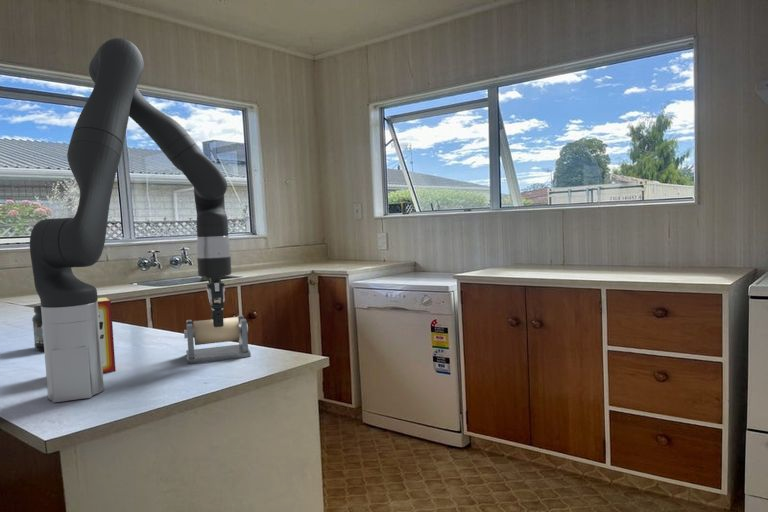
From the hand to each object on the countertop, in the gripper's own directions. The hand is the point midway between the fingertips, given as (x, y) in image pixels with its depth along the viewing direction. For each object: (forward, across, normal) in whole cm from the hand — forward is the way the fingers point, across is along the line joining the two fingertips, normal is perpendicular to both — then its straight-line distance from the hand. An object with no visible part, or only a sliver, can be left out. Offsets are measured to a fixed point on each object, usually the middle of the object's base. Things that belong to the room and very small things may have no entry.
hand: (217, 324), depth 127 cm
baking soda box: (+8, -1, +27) cm, 28 cm away
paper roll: (+4, +1, 0) cm, 5 cm away
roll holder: (+8, +1, 0) cm, 8 cm away
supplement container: (+8, +32, +40) cm, 52 cm away
